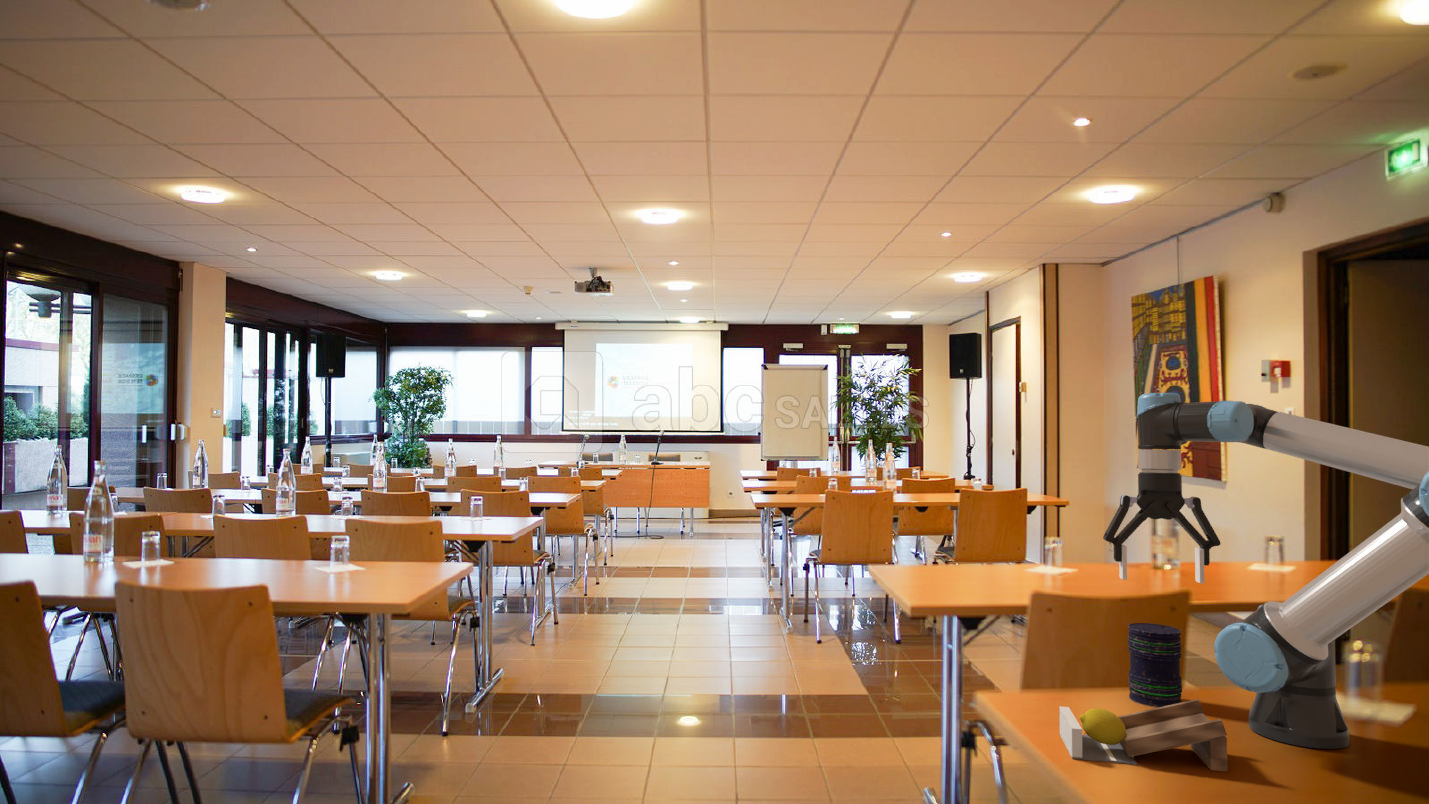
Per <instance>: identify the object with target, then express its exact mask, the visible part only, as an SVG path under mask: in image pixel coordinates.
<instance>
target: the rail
mask: <svg viewBox="0 0 1429 804" xmlns="http://www.w3.org/2000/svg"><path fill="white" fill-rule="evenodd" d="M1082 735H1083V727H1082V726H1081V725H1080V724H1079V721H1078V720H1077V718H1076V717H1075V715H1074V713H1073V711H1072V710H1071V709H1070V707H1069V706H1061V705H1059V736H1060V737H1061V736H1062V737H1061V740H1062V741H1063V743H1064V745H1065V748H1066V749H1067V751H1068V753H1069V756H1070V757H1071V759H1072V758H1074V757H1075V758H1076V757H1078V758H1079V759H1077V758H1076V759H1075V760H1082V759H1081V758H1082ZM1082 761H1083V760H1082Z"/></svg>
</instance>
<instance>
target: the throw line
mask: <svg viewBox="0 0 1429 804" xmlns="http://www.w3.org/2000/svg"><path fill="white" fill-rule="evenodd" d="M1101 745H1102V746H1103V748H1104V750H1105V751H1106V753H1107V754H1108V756H1109V757H1110V759H1111V761H1116V759H1115V757H1114V756H1113V754H1112V753H1111V751H1110V750H1109V748H1108V747H1107V745H1106V744H1103V743H1101ZM1111 763H1113V762H1111ZM1115 764H1117V763H1116V762H1115Z"/></svg>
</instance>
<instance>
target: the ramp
mask: <svg viewBox="0 0 1429 804" xmlns="http://www.w3.org/2000/svg"><path fill="white" fill-rule="evenodd" d="M1117 717H1119V718H1120V719H1121V720H1122V722H1123V723H1124V725H1125V728H1126V733H1127V737H1126V738H1124V740H1123V741H1122V742H1120V745H1121V746H1122V748H1123V749H1124V751H1125V752H1126V754H1127V755H1128V756H1129V757H1135V756H1141V755H1146V754H1149V753H1154V752H1161V751H1165V750H1170V749H1174V748H1178V747H1179V748H1180V747H1185V746H1188V745H1190V749H1191V750H1192V751H1193V752H1194V753H1195V754H1196V756H1197V757H1199V758H1200V760H1201V761H1202V762H1203V763H1204V764H1205V765H1206V766H1207V768H1208V769H1209V770H1211V771H1219V772H1228V738H1227V737H1226V736H1228V734H1227V731H1226V728H1225V725H1224V723H1223V720H1222V719H1221V718H1217V719H1212V720H1210V719H1209V718H1208V717H1207V716H1206V715H1205V713H1204V710H1203V707H1202V705H1201V702H1200V699H1198V698H1196V699H1191V700H1187V701H1182V702H1181V703H1177V704H1172V705H1168V706H1163V707H1153V708H1150V709H1145V710H1141V711H1135V712H1132V713H1128V714H1123V715H1117Z"/></svg>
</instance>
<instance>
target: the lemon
mask: <svg viewBox="0 0 1429 804" xmlns="http://www.w3.org/2000/svg"><path fill="white" fill-rule="evenodd" d="M1079 720H1080V722H1081V725H1082V726H1081V727H1082V730H1083V731H1084V733H1085V735H1088V736H1089V737H1090V738H1092V739H1093V740H1095V741H1097V742H1100V743H1103V744H1107V745H1116V744H1119V743H1120V742H1122V741H1123V740H1124V738H1126V737H1127V733H1126V728H1125V725H1124V723H1123V722H1122V720H1121V719H1120V718H1119V717H1118V715H1116V714H1115V713H1113V712H1111V711H1109V710H1107V709H1104V708H1099V707H1098V708H1097V707H1095V708H1090V709H1088V710H1087V711H1085V713H1083V714H1080V715H1079Z"/></svg>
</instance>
